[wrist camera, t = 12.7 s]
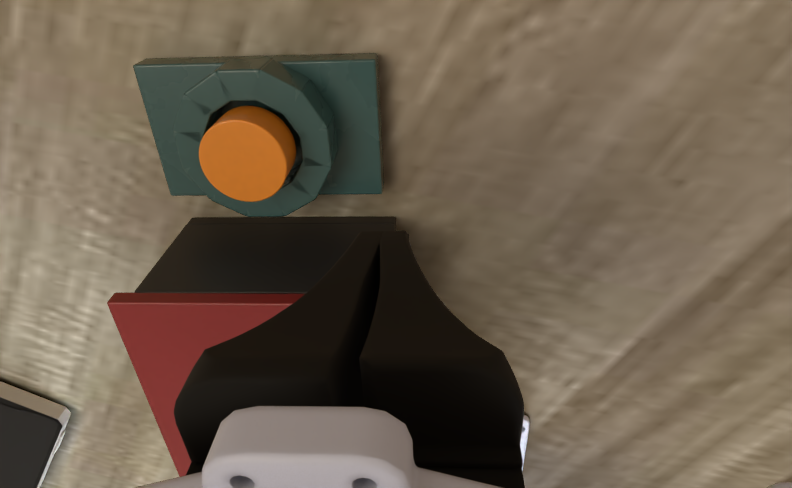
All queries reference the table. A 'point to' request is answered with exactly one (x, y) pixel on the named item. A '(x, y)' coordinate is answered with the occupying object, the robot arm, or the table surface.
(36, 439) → the smartphone
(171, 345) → the lid
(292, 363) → the robot arm
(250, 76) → the control block
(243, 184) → the button
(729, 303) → the table surface
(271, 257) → the dark open storage box
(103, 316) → the table surface
